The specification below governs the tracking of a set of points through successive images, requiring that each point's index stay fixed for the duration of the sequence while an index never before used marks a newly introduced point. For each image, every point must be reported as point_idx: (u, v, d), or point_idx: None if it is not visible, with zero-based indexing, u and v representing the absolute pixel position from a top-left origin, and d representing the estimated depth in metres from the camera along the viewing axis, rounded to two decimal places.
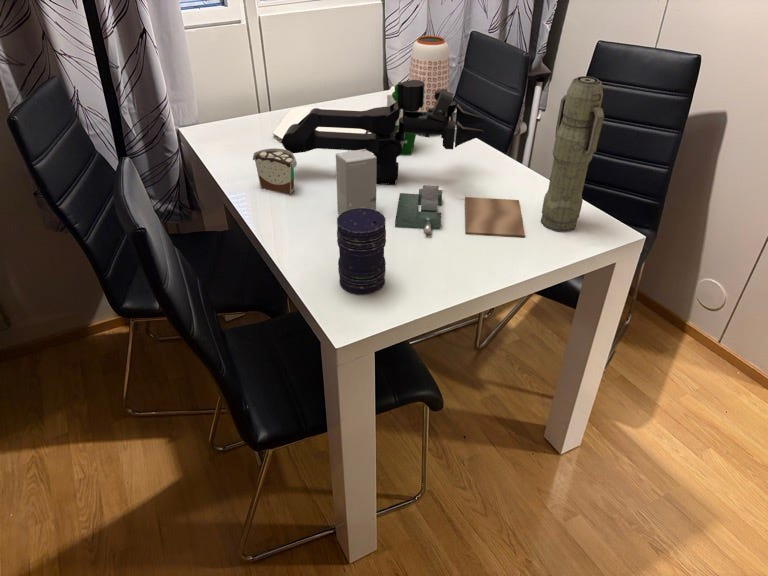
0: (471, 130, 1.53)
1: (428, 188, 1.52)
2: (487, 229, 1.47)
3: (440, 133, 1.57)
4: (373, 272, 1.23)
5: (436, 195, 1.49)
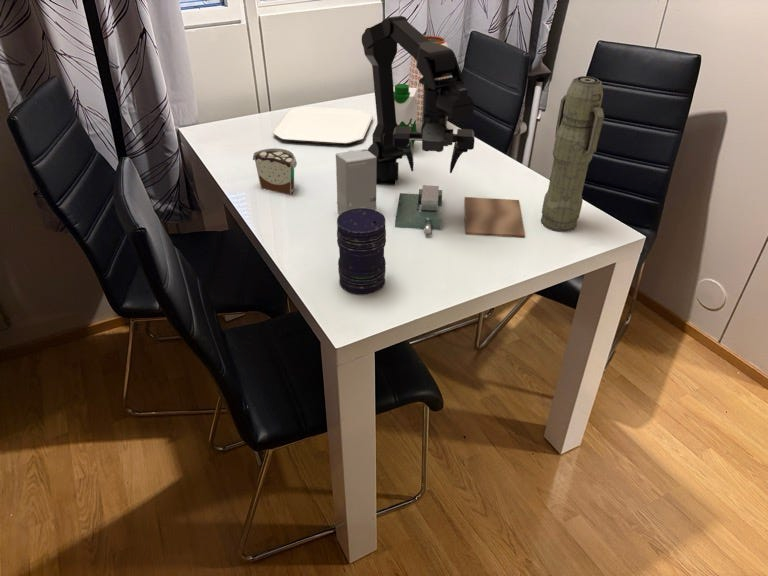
0: (408, 159, 1.45)
1: (428, 188, 1.52)
2: (487, 229, 1.47)
3: None
4: (373, 272, 1.23)
5: (436, 195, 1.49)
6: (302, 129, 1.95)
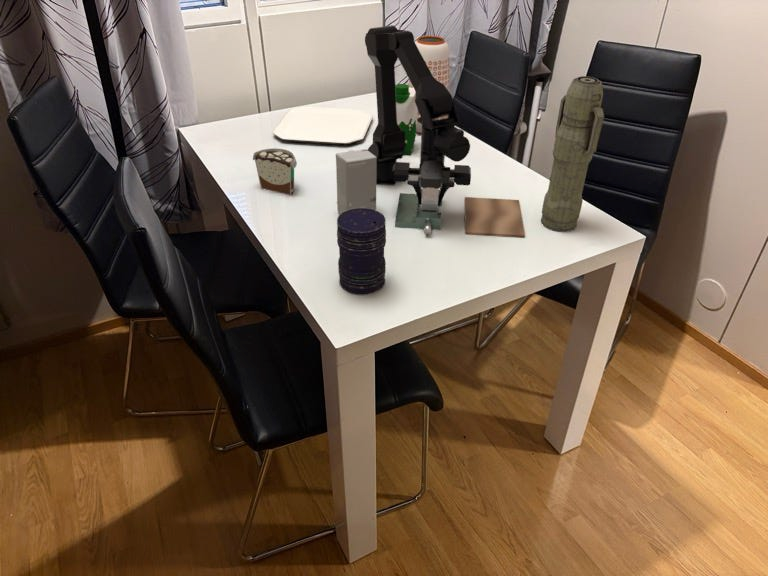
0: None
1: (428, 188, 1.52)
2: (487, 229, 1.47)
3: None
4: (373, 272, 1.23)
5: (436, 195, 1.49)
6: (302, 129, 1.95)
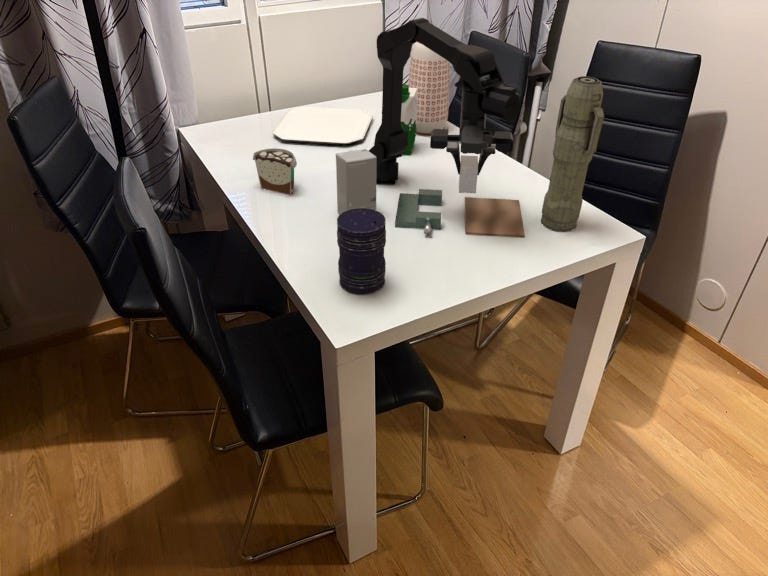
0: None
1: (467, 158, 1.46)
2: (487, 229, 1.47)
3: None
4: (373, 272, 1.23)
5: (476, 164, 1.43)
6: (302, 130, 1.95)
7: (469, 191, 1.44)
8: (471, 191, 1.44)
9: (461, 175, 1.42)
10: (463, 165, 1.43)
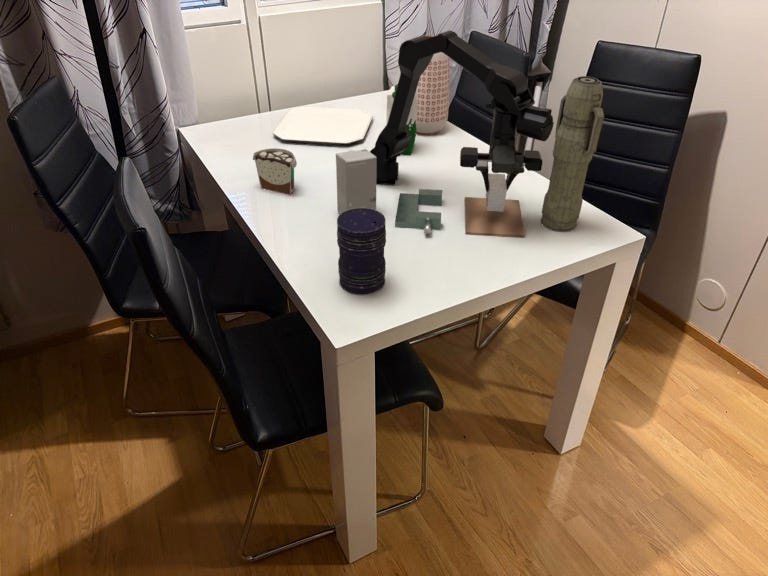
0: (484, 180, 1.46)
1: (494, 176, 1.48)
2: (487, 229, 1.47)
3: None
4: (373, 272, 1.23)
5: (504, 183, 1.45)
6: (302, 130, 1.95)
7: (497, 209, 1.47)
8: (499, 209, 1.47)
9: (490, 194, 1.44)
10: (492, 184, 1.45)
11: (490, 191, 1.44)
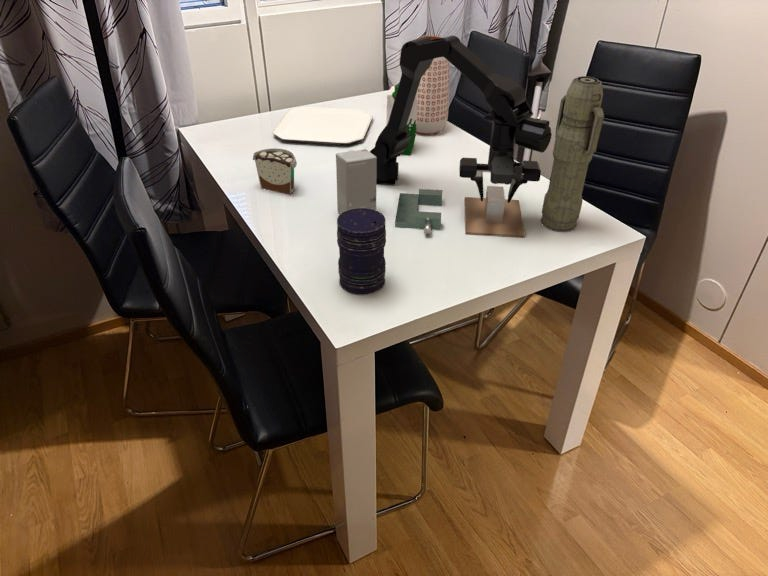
0: None
1: (493, 189, 1.50)
2: (487, 229, 1.47)
3: None
4: (373, 272, 1.23)
5: (502, 196, 1.47)
6: (302, 129, 1.95)
7: (495, 221, 1.49)
8: (497, 221, 1.48)
9: (488, 206, 1.46)
10: (490, 196, 1.47)
11: (488, 204, 1.46)
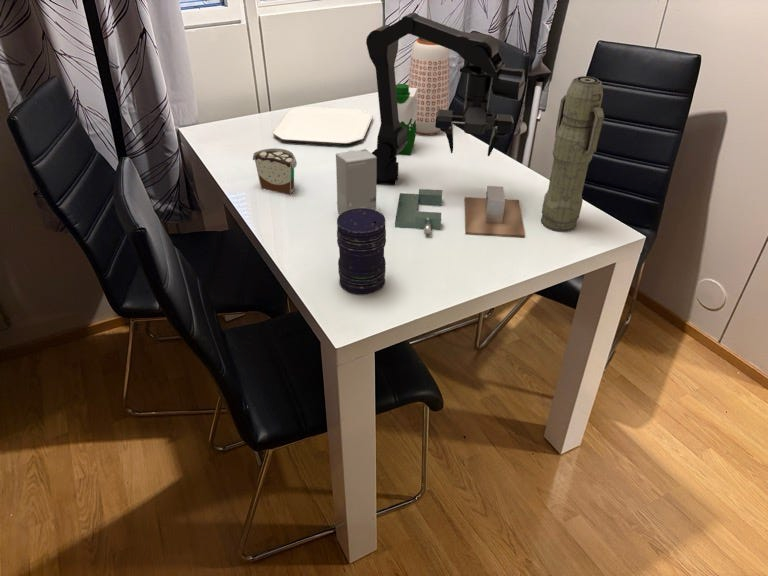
0: None
1: (493, 189, 1.50)
2: (487, 229, 1.47)
3: None
4: (373, 272, 1.23)
5: (502, 196, 1.47)
6: (302, 130, 1.95)
7: (495, 221, 1.49)
8: (497, 221, 1.48)
9: (488, 206, 1.46)
10: (490, 196, 1.47)
11: (488, 204, 1.46)
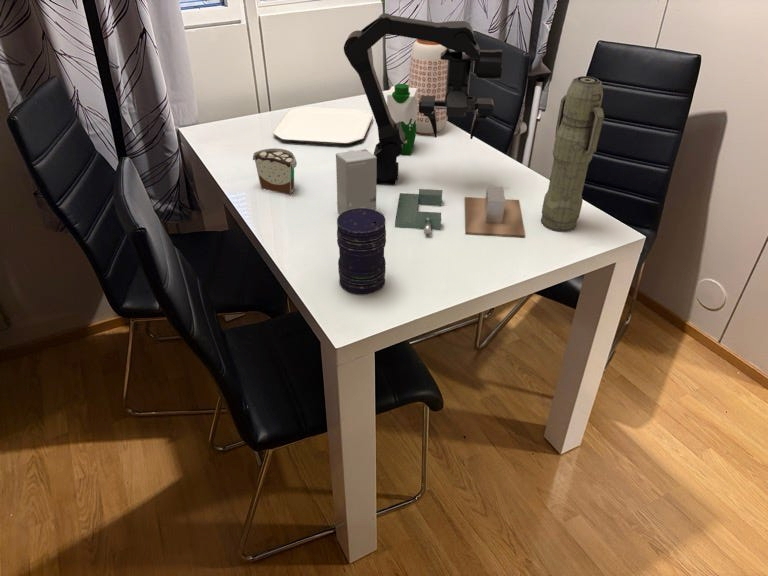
0: (432, 126, 1.58)
1: (493, 189, 1.50)
2: (487, 229, 1.47)
3: None
4: (373, 272, 1.23)
5: (502, 196, 1.47)
6: (302, 130, 1.95)
7: (495, 221, 1.49)
8: (497, 221, 1.48)
9: (488, 206, 1.46)
10: (490, 196, 1.47)
11: (488, 204, 1.46)
